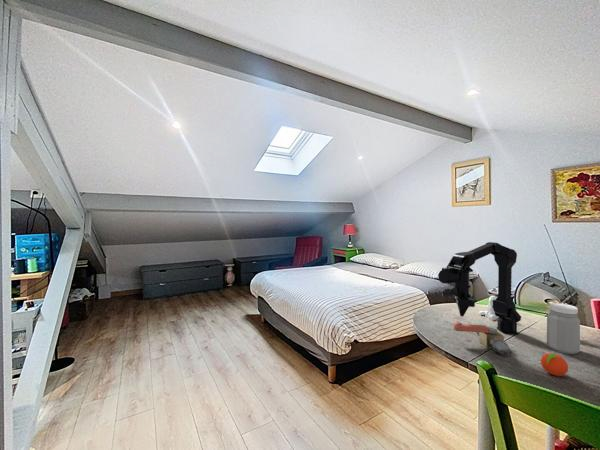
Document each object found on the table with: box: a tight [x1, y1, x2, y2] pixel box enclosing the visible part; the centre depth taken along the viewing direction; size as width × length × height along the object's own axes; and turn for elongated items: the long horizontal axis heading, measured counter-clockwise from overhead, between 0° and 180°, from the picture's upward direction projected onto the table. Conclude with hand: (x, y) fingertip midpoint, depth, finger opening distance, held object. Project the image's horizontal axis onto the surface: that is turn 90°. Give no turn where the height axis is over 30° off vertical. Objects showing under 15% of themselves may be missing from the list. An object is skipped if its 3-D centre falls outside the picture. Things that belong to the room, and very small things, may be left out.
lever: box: [453, 321, 498, 334], centre depth 115 cm, size 16×4×3 cm, turn 80°
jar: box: [546, 302, 581, 355], centre depth 110 cm, size 10×10×18 cm
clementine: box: [540, 352, 569, 377], centre depth 93 cm, size 8×7×7 cm
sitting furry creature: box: [478, 295, 499, 321], centre depth 147 cm, size 10×9×12 cm
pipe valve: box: [475, 331, 511, 356], centre depth 114 cm, size 20×6×6 cm, turn 170°
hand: (461, 316), depth 121 cm, fingers closed
